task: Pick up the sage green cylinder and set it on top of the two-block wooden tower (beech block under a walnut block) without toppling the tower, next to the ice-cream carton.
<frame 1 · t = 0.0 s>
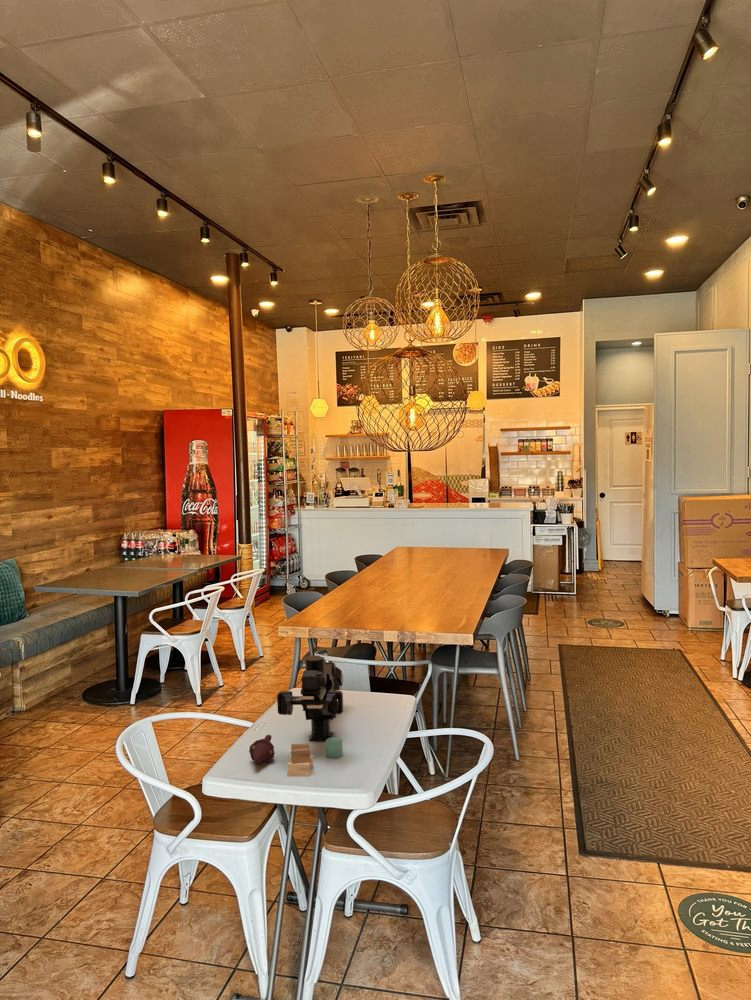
hand: (305, 712, 193), 17 cm above the table, tool horizontal, fingers open, 9 cm apart
sage green cylinder: (334, 755, 204), on the table
tower top: (300, 759, 194), point 3 cm above the table, touching tower base
tower base: (300, 772, 194), on the table, touching tower top
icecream: (262, 763, 201), on the table
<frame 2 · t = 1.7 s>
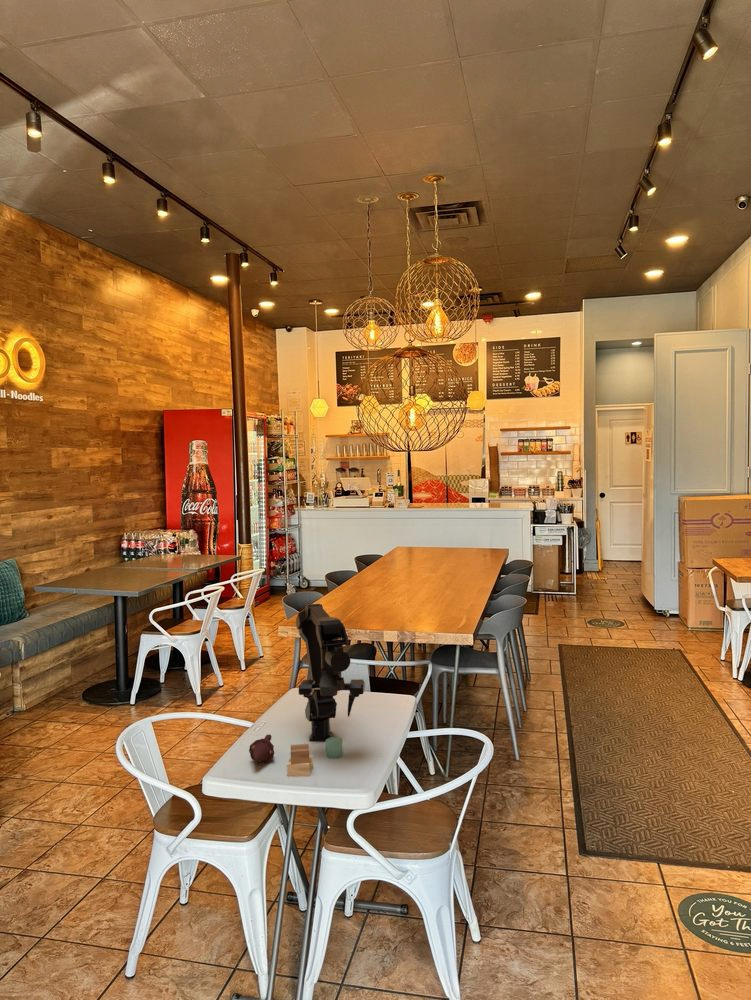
hand: (332, 716, 204), 11 cm above the table, tool pointing down, fingers open, 9 cm apart
nothing on the table moved.
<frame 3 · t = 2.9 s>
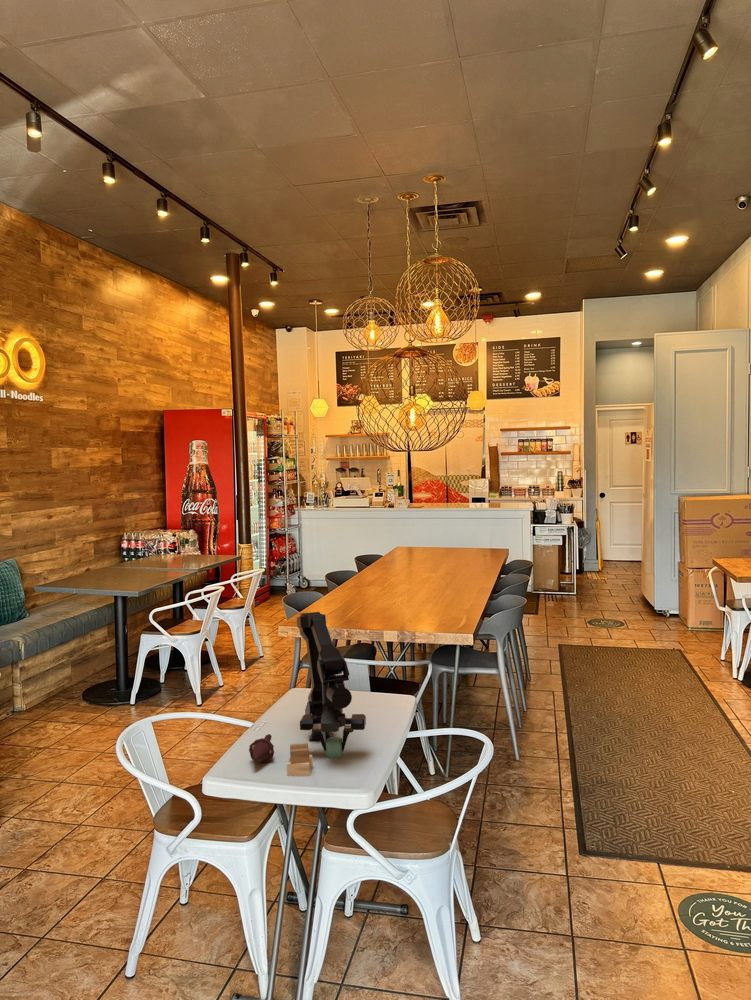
hand: (334, 751, 204), 1 cm above the table, tool pointing down, fingers closed on sage green cylinder, 5 cm apart
sage green cylinder: (334, 755, 204), on the table, touching gripper
tower top: (299, 759, 194), point 3 cm above the table
tower base: (300, 771, 194), on the table
everything else where it was.
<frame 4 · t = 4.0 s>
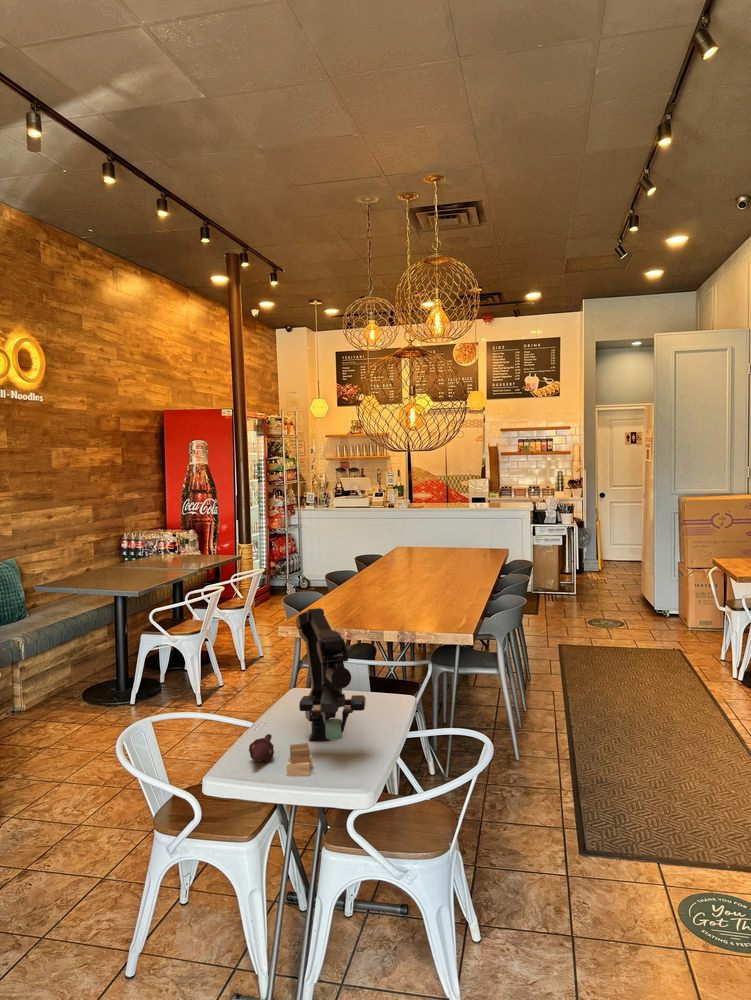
hand: (333, 732, 204), 7 cm above the table, tool pointing down, fingers closed on sage green cylinder, 5 cm apart
sage green cylinder: (333, 736, 204), point 6 cm above the table, touching gripper
tower top: (300, 759, 194), point 3 cm above the table, touching tower base
tower base: (300, 772, 194), on the table, touching tower top
everything else where it was.
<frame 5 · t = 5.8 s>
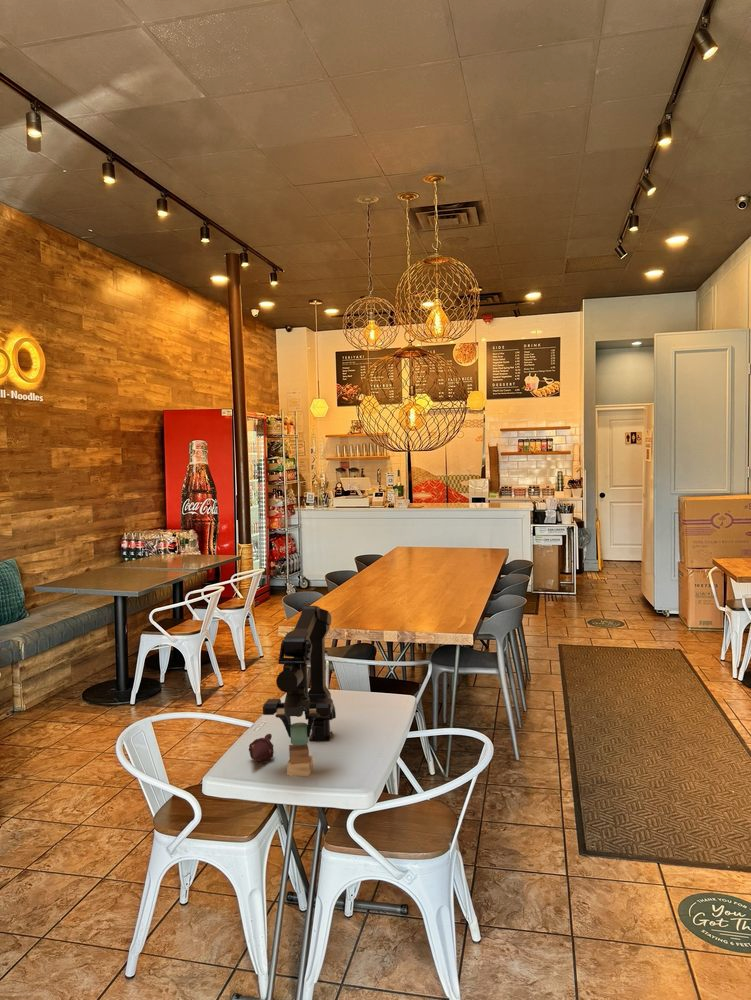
hand: (299, 737, 193), 9 cm above the table, tool pointing down, fingers closed on sage green cylinder, 5 cm apart
sage green cylinder: (299, 741, 193), point 8 cm above the table, touching gripper
everything else where it was.
when the fingers open (9 cm above the table, at t = 6.0 s): sage green cylinder drops 2 cm, resting on tower top.
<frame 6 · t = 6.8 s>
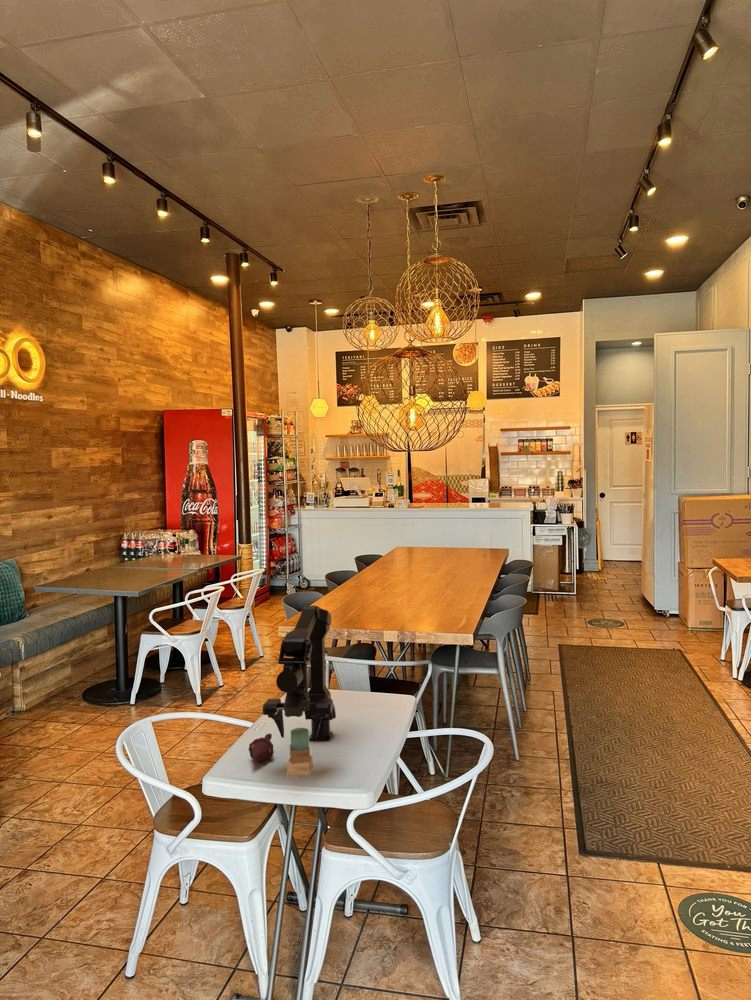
hand: (299, 737, 193), 9 cm above the table, tool pointing down, fingers open, 9 cm apart
sage green cylinder: (300, 746, 194), point 7 cm above the table, touching tower top
tower top: (300, 759, 194), point 3 cm above the table, touching sage green cylinder
tower base: (300, 771, 194), on the table
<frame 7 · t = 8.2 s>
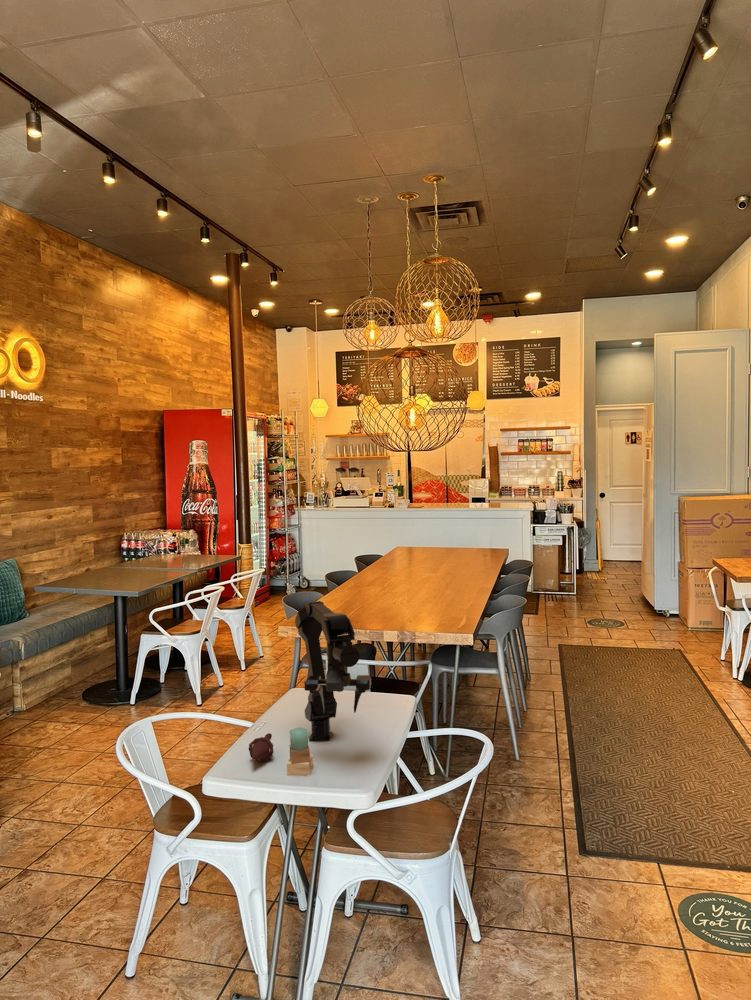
hand: (339, 712, 202), 13 cm above the table, tool pointing down, fingers open, 9 cm apart
tower top: (299, 759, 194), point 3 cm above the table, touching sage green cylinder, tower base
tower base: (300, 771, 194), on the table, touching tower top
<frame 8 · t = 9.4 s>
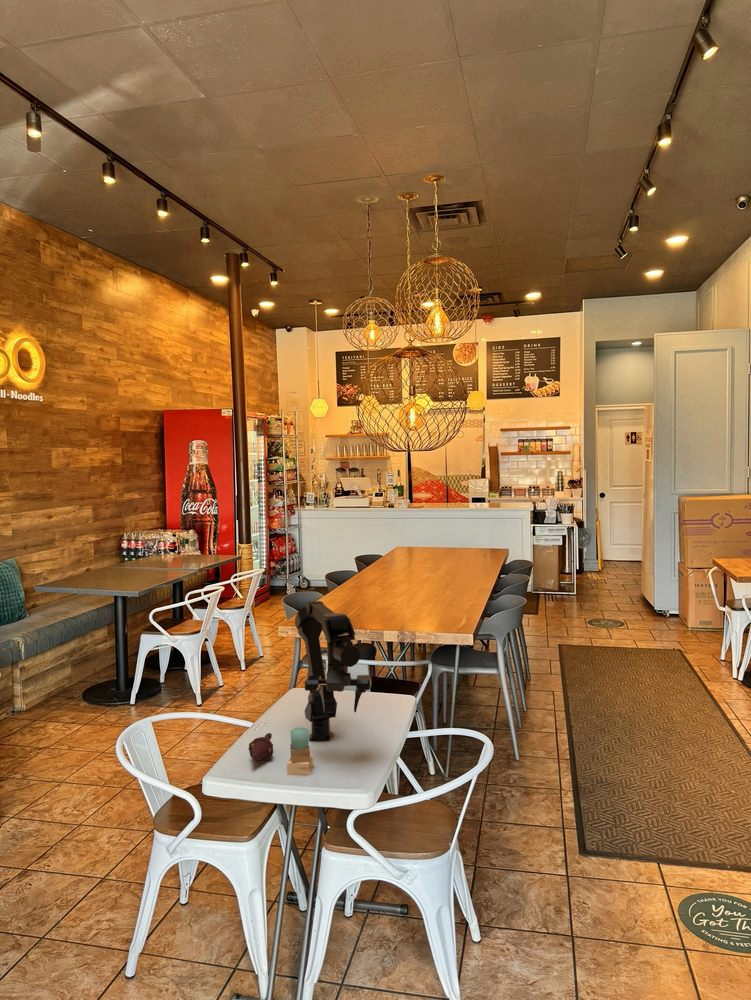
hand: (339, 712, 203), 13 cm above the table, tool pointing down, fingers open, 9 cm apart
at the end: sage green cylinder 0.2 cm off-centre on the tower base, point 7.0 cm above the tower base's base; tower top tilted 0°; tower base moved 0.6 cm from its start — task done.
